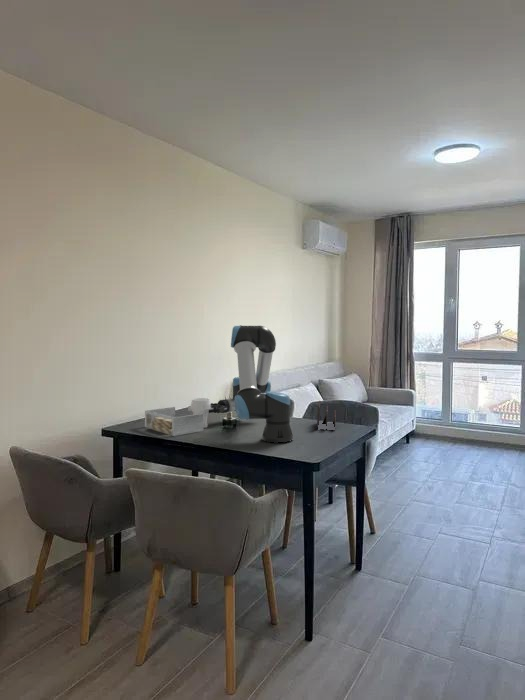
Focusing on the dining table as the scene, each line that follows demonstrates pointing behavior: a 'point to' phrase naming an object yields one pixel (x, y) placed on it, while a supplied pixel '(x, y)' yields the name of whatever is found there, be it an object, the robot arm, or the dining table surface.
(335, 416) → the letter holder
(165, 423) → the offcut bundle
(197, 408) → the cup
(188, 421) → the grey open storage bin
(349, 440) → the dining table surface
